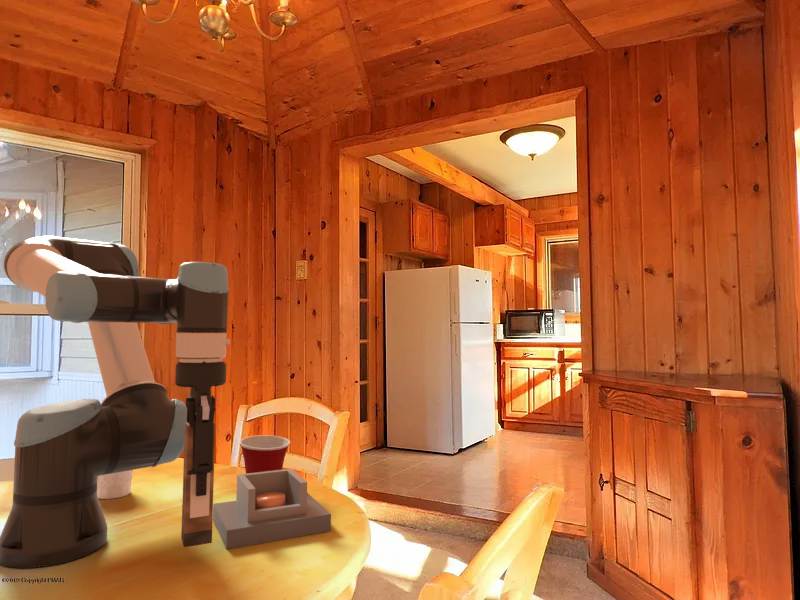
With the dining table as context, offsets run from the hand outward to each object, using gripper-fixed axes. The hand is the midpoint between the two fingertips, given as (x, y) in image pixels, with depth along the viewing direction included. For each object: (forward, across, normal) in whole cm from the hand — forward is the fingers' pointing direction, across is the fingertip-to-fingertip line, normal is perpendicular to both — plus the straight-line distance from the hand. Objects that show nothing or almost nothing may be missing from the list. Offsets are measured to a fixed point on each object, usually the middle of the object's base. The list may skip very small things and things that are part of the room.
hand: (197, 511), depth 83 cm
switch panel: (+8, +10, -14) cm, 19 cm away
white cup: (+8, +43, +12) cm, 46 cm away
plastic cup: (+8, +28, -17) cm, 34 cm away
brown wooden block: (+4, 0, 0) cm, 4 cm away
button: (+4, +10, -14) cm, 18 cm away
